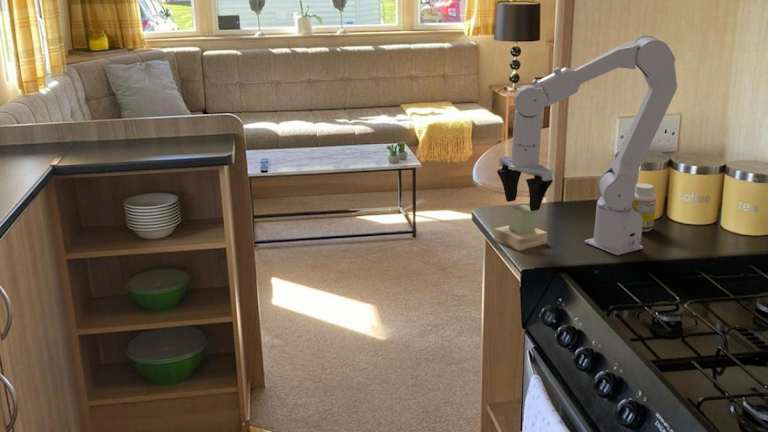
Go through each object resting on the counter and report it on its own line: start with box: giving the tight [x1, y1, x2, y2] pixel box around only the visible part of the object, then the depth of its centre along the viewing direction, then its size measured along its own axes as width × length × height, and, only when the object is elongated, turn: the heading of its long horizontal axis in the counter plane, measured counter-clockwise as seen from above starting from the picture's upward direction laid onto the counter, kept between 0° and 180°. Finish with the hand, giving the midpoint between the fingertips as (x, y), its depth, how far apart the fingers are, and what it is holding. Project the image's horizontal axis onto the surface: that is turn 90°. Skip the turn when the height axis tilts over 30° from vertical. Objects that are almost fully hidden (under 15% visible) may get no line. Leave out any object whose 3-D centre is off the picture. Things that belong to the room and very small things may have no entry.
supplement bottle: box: [632, 182, 657, 233], centre depth 179 cm, size 6×6×10 cm
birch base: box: [493, 224, 548, 252], centre depth 172 cm, size 8×8×3 cm
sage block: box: [508, 204, 538, 234], centre depth 171 cm, size 4×4×5 cm
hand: (522, 205), depth 170 cm, fingers open, 7 cm apart
